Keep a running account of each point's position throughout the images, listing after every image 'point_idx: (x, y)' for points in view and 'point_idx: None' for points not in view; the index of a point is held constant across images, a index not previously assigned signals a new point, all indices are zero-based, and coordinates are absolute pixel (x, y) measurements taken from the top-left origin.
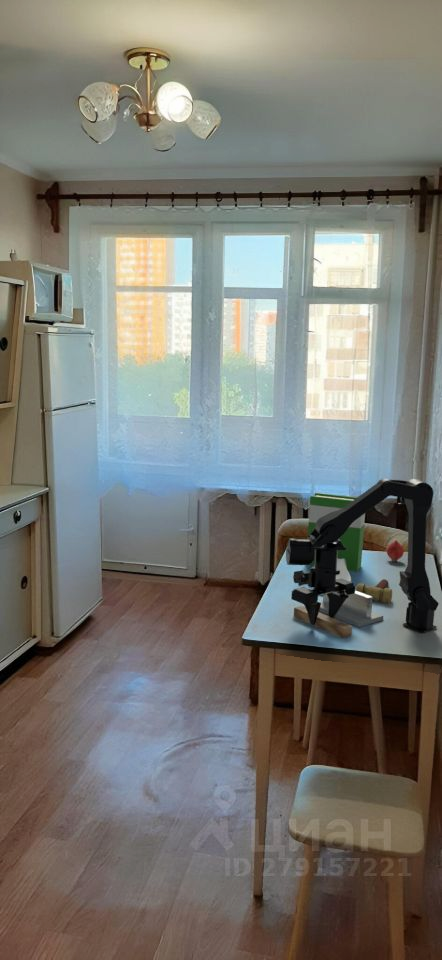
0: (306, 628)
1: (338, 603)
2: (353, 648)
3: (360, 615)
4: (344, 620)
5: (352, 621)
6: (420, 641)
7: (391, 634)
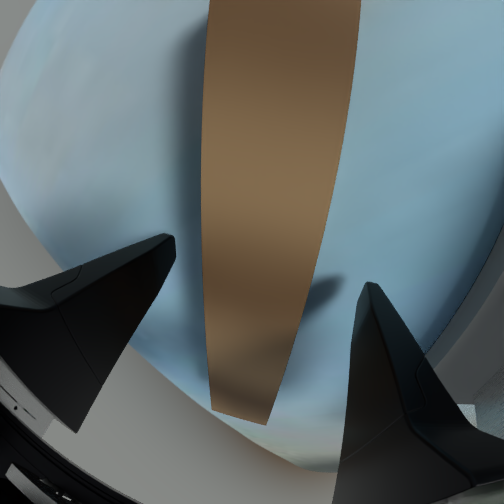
0: (157, 202)
1: (343, 463)
2: (191, 397)
3: (497, 377)
4: (455, 317)
5: None
6: None
7: None
